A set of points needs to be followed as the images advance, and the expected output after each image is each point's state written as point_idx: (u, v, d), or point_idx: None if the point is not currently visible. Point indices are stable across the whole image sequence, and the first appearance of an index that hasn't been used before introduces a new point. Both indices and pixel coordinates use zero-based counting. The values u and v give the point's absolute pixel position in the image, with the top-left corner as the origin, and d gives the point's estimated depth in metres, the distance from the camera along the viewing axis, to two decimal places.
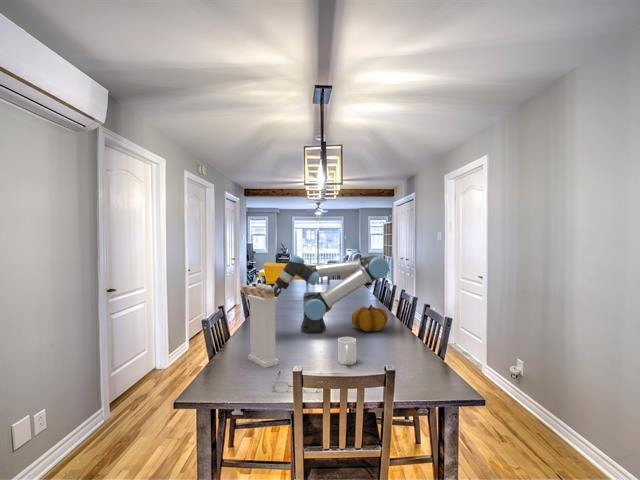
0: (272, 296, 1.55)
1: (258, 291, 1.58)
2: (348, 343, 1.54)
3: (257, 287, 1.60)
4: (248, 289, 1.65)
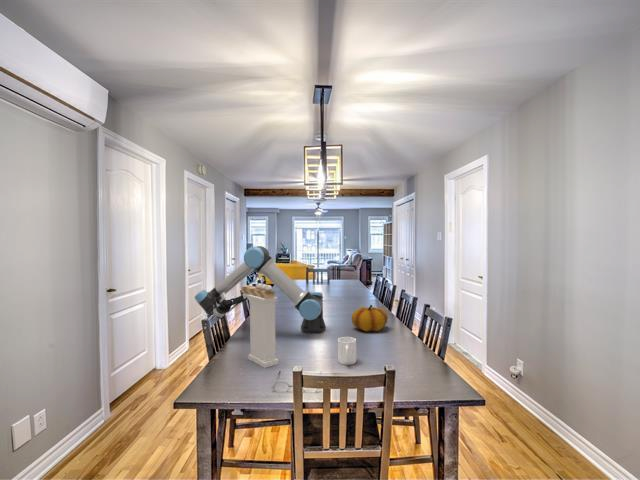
0: (272, 296, 1.55)
1: (258, 291, 1.58)
2: (348, 343, 1.54)
3: (257, 287, 1.60)
4: (248, 289, 1.65)
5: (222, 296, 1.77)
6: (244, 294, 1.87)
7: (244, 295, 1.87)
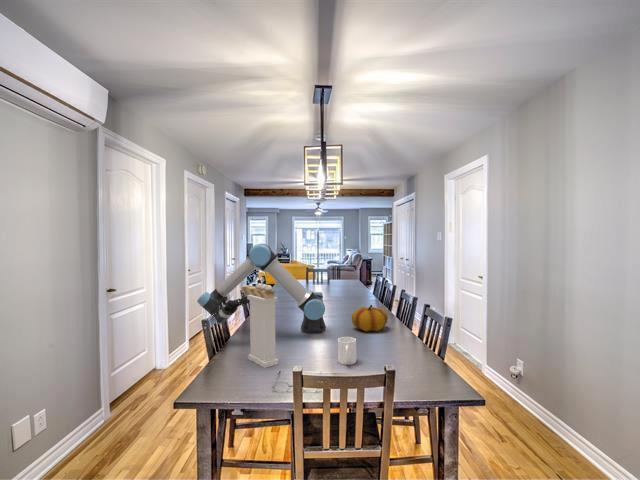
0: (272, 296, 1.55)
1: (258, 291, 1.58)
2: (348, 343, 1.54)
3: (257, 287, 1.60)
4: (248, 289, 1.65)
5: (228, 296, 1.69)
6: None
7: None
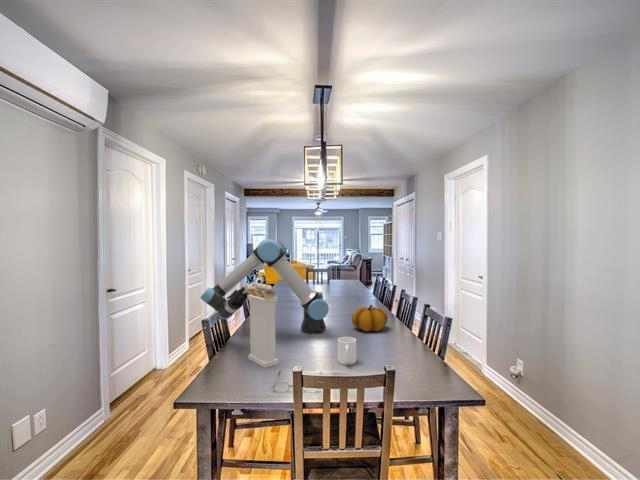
0: (272, 296, 1.55)
1: (258, 291, 1.58)
2: (348, 343, 1.54)
3: (257, 287, 1.60)
4: None
5: (246, 287, 1.65)
6: None
7: None
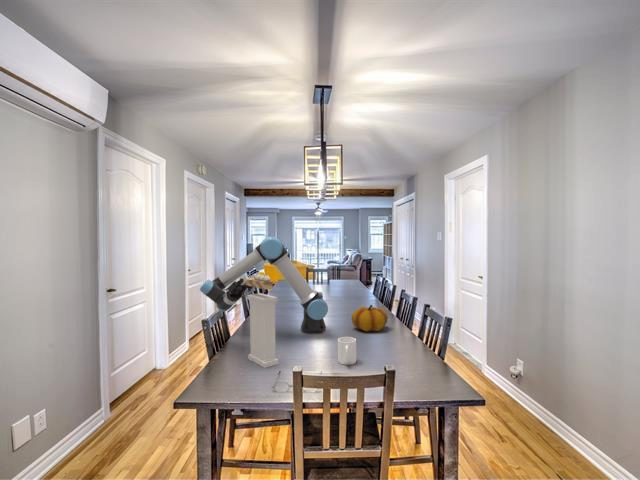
0: (270, 287, 1.55)
1: (256, 282, 1.59)
2: (348, 343, 1.54)
3: (255, 278, 1.60)
4: None
5: (244, 278, 1.66)
6: None
7: None
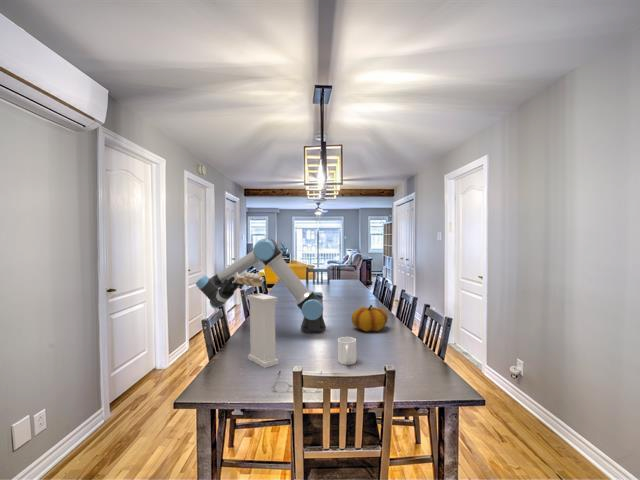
0: (259, 284, 1.63)
1: (246, 280, 1.66)
2: (348, 343, 1.54)
3: (246, 276, 1.68)
4: None
5: (235, 276, 1.74)
6: None
7: None
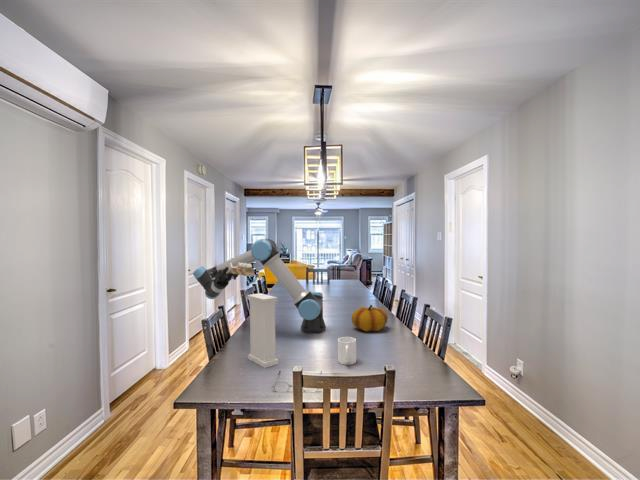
0: (252, 274, 1.68)
1: (239, 269, 1.72)
2: (348, 343, 1.54)
3: (239, 266, 1.73)
4: None
5: (229, 267, 1.79)
6: None
7: None
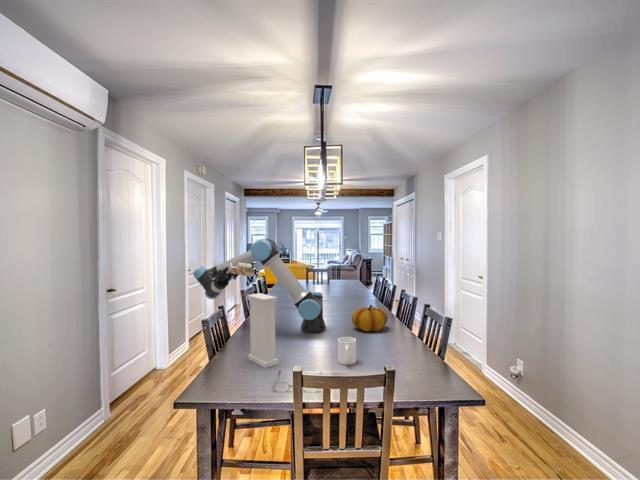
0: (252, 274, 1.68)
1: (239, 269, 1.72)
2: (348, 343, 1.54)
3: (239, 266, 1.73)
4: None
5: (229, 267, 1.79)
6: None
7: None
